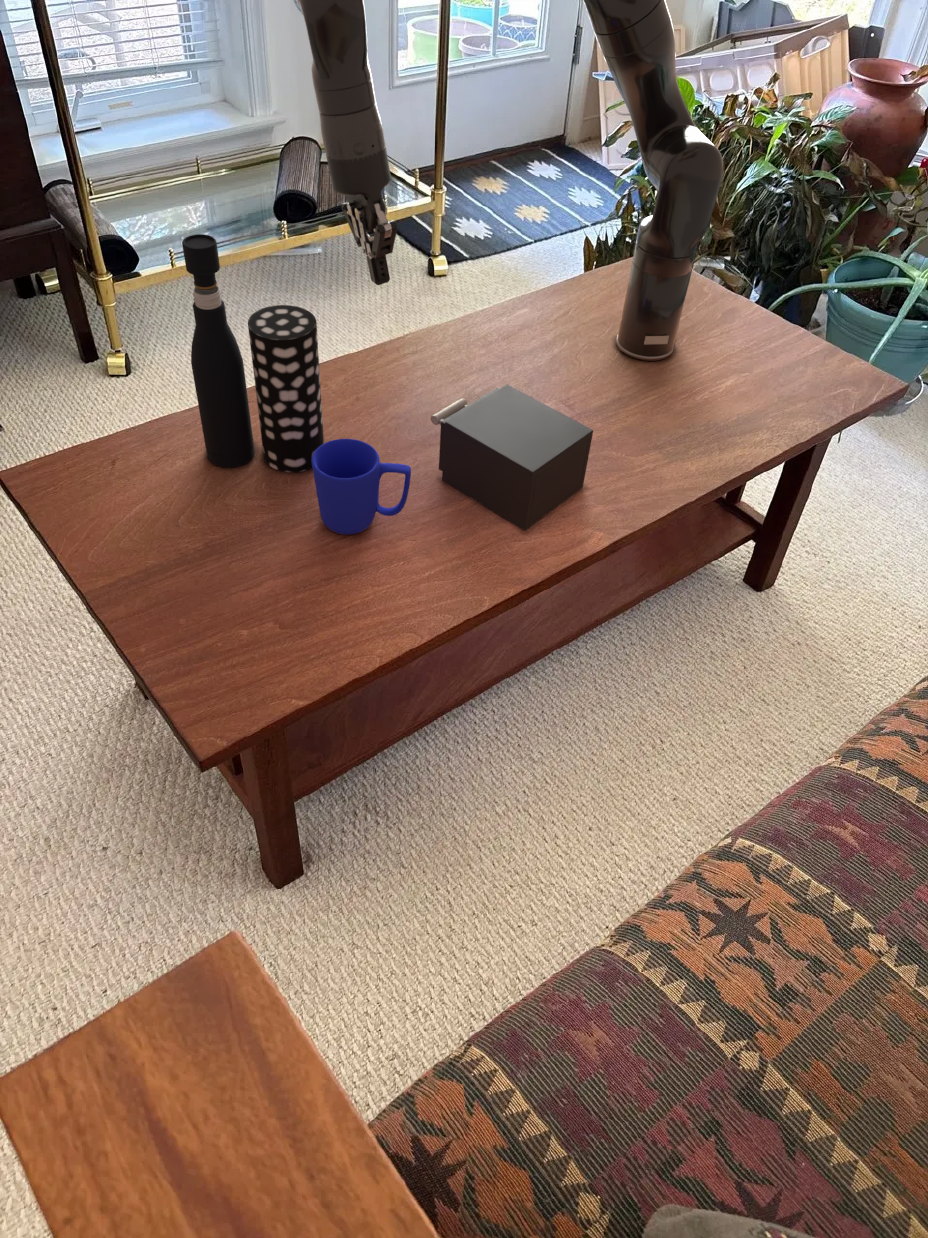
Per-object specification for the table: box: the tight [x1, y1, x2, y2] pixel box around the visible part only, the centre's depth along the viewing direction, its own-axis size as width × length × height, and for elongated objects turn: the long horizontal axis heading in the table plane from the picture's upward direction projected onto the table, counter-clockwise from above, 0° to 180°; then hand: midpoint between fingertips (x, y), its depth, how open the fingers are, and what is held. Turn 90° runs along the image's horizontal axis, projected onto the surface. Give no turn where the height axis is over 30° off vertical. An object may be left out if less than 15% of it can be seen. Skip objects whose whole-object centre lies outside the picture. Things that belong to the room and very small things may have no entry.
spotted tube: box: [247, 304, 325, 473], centre depth 124 cm, size 8×8×20 cm
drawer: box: [430, 387, 500, 472], centre depth 127 cm, size 18×11×8 cm, turn 48°
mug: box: [311, 438, 412, 536], centre depth 119 cm, size 8×12×10 cm
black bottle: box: [181, 233, 256, 469], centre depth 119 cm, size 6×6×30 cm
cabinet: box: [441, 383, 594, 532], centre depth 126 cm, size 15×13×10 cm
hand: (380, 281), depth 129 cm, fingers closed
